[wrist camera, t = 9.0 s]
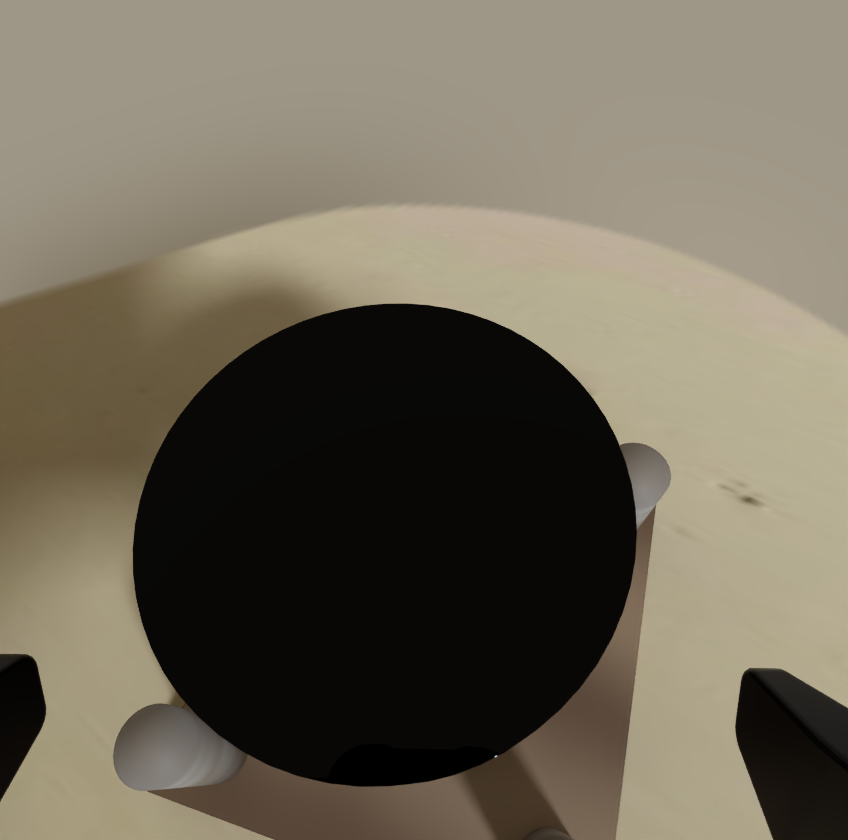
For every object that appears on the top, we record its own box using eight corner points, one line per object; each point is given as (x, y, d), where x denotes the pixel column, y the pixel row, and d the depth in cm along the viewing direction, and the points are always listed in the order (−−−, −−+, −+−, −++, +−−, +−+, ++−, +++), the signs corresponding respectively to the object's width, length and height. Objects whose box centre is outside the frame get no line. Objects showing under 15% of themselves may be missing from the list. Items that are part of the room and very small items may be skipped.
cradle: (592, 951, 15) (647, 1031, 10) (163, 789, 17) (57, 798, 12) (648, 507, 20) (700, 435, 15) (316, 427, 22) (281, 344, 18)
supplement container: (556, 776, 15) (686, 797, 6) (293, 771, 16) (63, 784, 7) (536, 521, 19) (603, 296, 10) (318, 522, 19) (186, 306, 10)
